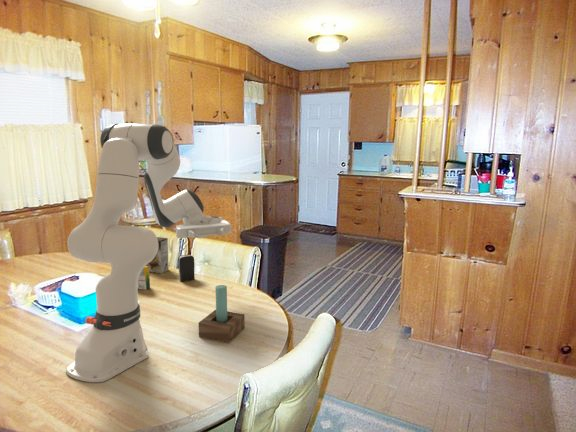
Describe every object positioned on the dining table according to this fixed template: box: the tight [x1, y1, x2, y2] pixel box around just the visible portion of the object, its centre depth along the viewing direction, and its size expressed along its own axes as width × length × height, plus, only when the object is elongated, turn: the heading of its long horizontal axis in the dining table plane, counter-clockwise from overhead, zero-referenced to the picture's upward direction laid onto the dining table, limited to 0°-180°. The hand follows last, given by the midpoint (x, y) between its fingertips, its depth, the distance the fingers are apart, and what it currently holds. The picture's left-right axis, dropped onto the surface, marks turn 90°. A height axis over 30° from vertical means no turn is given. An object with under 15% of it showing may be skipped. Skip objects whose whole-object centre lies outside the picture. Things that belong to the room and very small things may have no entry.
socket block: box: [198, 309, 246, 344], centre depth 132 cm, size 11×11×5 cm
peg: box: [215, 284, 228, 323], centre depth 131 cm, size 4×4×16 cm
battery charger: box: [177, 254, 195, 282], centre depth 180 cm, size 7×4×11 cm, turn 121°
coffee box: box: [146, 236, 170, 274], centre depth 191 cm, size 9×6×16 cm
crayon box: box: [138, 266, 151, 291], centre depth 170 cm, size 7×3×12 cm, turn 74°
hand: (208, 234), depth 141 cm, fingers open, 8 cm apart
